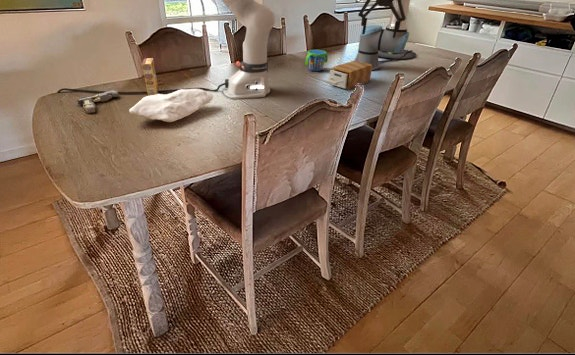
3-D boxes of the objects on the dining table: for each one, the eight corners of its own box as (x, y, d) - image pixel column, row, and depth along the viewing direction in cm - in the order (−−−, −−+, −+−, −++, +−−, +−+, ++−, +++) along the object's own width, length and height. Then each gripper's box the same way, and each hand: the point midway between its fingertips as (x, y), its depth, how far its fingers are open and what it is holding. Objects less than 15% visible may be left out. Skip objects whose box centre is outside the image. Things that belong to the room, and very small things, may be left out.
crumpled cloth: (117, 110, 146) (113, 90, 140) (195, 92, 166) (194, 73, 160) (143, 139, 134) (140, 118, 128) (223, 116, 154) (224, 96, 148)
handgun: (128, 97, 156) (111, 87, 164) (86, 107, 144) (70, 97, 152) (129, 103, 157) (113, 94, 165) (88, 114, 146) (72, 103, 154)
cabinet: (348, 89, 183) (351, 71, 178) (331, 84, 190) (333, 66, 185) (369, 81, 195) (372, 64, 190) (352, 76, 202) (354, 60, 197)
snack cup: (320, 65, 217) (322, 48, 212) (332, 70, 210) (333, 52, 204) (299, 69, 210) (300, 51, 204) (310, 74, 202) (311, 55, 197)
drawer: (337, 91, 177) (338, 77, 174) (321, 86, 183) (322, 72, 179) (364, 81, 192) (366, 68, 189) (349, 76, 198) (351, 63, 194)
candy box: (157, 97, 164) (152, 63, 155) (147, 98, 163) (141, 63, 155) (158, 91, 171) (153, 57, 163) (149, 91, 170) (143, 58, 162)
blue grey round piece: (426, 55, 246) (429, 41, 242) (391, 61, 229) (393, 46, 224) (387, 47, 271) (389, 34, 267) (353, 52, 254) (354, 38, 249)
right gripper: (355, -20, 151) (349, 33, 163) (417, -16, 144) (406, 40, 155) (359, -21, 157) (353, 30, 169) (419, -17, 150) (408, 37, 161)
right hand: (378, 35), depth 162 cm, fingers open, 13 cm apart
